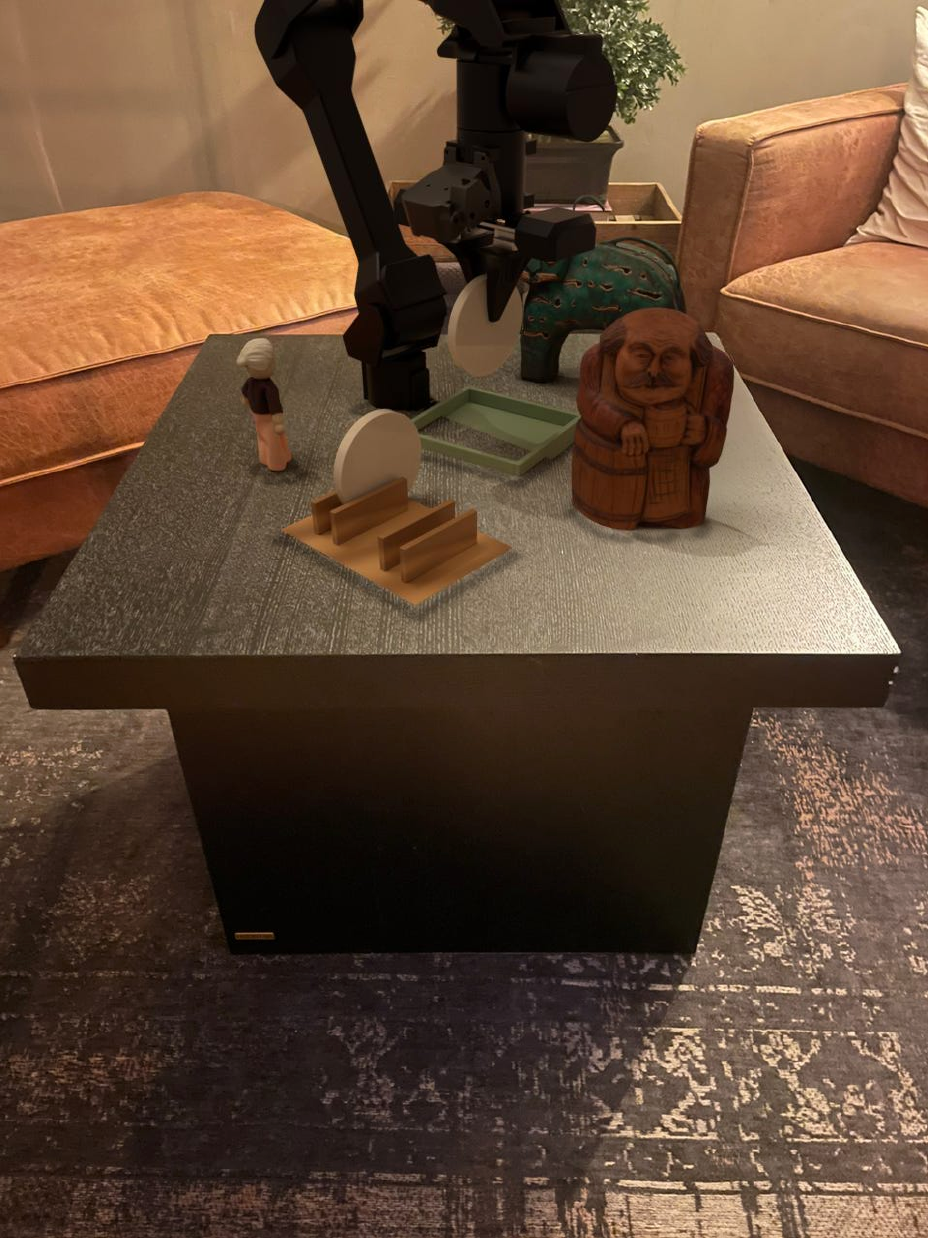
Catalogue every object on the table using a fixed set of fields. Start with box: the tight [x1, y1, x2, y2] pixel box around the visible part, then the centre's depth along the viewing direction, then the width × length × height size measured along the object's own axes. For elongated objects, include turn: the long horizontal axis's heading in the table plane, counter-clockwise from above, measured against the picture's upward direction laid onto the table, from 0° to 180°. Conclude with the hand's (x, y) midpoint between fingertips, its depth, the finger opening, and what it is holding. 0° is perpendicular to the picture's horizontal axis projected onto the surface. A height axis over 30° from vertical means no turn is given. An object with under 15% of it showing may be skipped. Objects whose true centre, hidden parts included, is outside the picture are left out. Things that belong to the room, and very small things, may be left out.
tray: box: [410, 385, 581, 478], centre depth 91 cm, size 14×13×2 cm
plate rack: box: [280, 477, 513, 606], centre depth 75 cm, size 16×11×4 cm
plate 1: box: [332, 409, 422, 505], centre depth 76 cm, size 1×9×9 cm, turn 137°
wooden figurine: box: [571, 308, 735, 531], centre depth 74 cm, size 12×6×18 cm, turn 89°
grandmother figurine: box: [235, 337, 293, 472], centre depth 83 cm, size 8×4×13 cm, turn 47°
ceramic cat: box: [519, 194, 688, 384], centre depth 97 cm, size 20×6×20 cm, turn 58°
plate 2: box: [447, 274, 523, 378], centre depth 83 cm, size 1×9×9 cm, turn 136°
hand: (488, 319), depth 83 cm, fingers closed on plate 2, 1 cm apart
